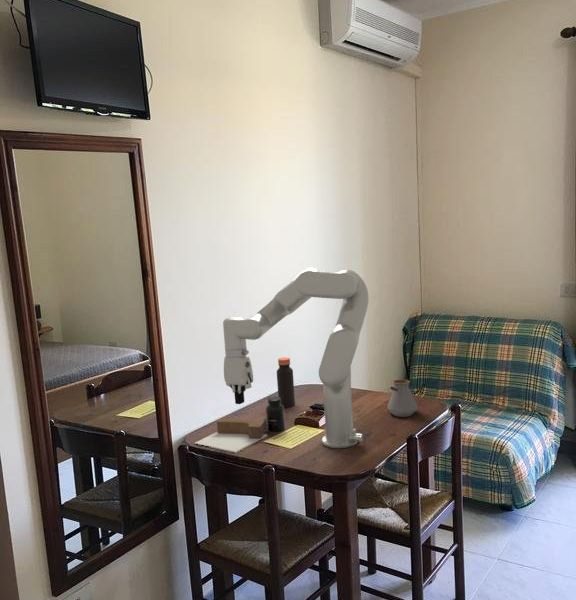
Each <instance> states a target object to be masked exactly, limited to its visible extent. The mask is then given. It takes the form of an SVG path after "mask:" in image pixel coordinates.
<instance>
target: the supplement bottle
mask: <svg viewBox="0 0 576 600" xmlns="http://www.w3.org/2000/svg"><path fill="white" fill-rule="evenodd" d="M265 419H266V424H267V430H266V431H268V432H272V433H279V432H282V431H284V430H285V429H286V424H285V423H286V422H285V407H284V406H283V405H282V404H281V398H280V397H278V396H271V397H268V398H267V405H266V407H265Z"/></svg>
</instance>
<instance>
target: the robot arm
mask: <svg viewBox="0 0 576 600" xmlns="http://www.w3.org/2000/svg"><path fill="white" fill-rule="evenodd" d="M312 298H320V299H335V300H336V299H337V300H343V301H342V305H341V308H340V309H339V314H338V318H337V320H336V323H335V326H334V327H333V330H332V331H331V333H330V334H329V336H328V339H327V343H326V345H325V349H324V351H323V354H322V359H321V361H320V364H319V368H318V377H319V380H320V382H321V383H322V385H323V386H322V387H323V407H324V409H323V410H324V422H325V423H324V425H325V426H324V427H325V435H324V436H323V437H322V438H321V444H323V445H324V446H325V447H327V448H332V449H345V448H351V447H353V446H356V444H358V443H362V442H363V440H364V436H363V434H362V433H357V429H356V428H354V425H353V424H354V423H353V422H354V421H353V419H354V418H353V402H352V396H353V395H352V362H353V360H354V357H355V355H356V354H355V353H356V351H357V349H358V348H357V347H358V345H359V341H360V335H361V330H362V328H363V325H364V321H365V317H366V314H367V312H368V311H367V310H368V307H369V291H368V286H367V285H366V283H365V281H364V279H363V278H362V277H361V276H360V275H359V274H358V273H357V272H356V271H354V270H351V269H343V270H340V271H339V272H327V271H320V270H319V269H317V268H313V267H309V268H306V269H305V270H302V271H301V272H300V273H299V274H298V275H297V276H296V277H295V278H293V279H292V280H291V281H290V282H289V283H288V284H287V285H285V286H284V287H282V288H281V289H280V290H279V291H278V292H277V293H276V294H275V295H274V297H273V298H272V299H271V301H269V302H268V303H267V304H266V305H264V307H262V308H261V309H260V310H259V311H258V312H256V313H255V314H253V315H252V316H250V317H249V318H246V319H244V318H243V317H240V316H237V317H236V316H232V317H226V318H225V319H224V320H223V322H222V325H223V326H222V327H223V339H224V351H225V352H224V353H225V356H224V359H223V378H224V382H225V385H226V386H227V387H229V388H231V390H232V393H234V402H235V404H236V405H241V404H244V403H245V392H246V390H249V389H251V388H253V387H252V383H254V374H253V373H254V371H253V366H252V363H251V358H250V356H249V352H250V351H249V350H247V349H248V348H247V340H250V341H251V340H252V341H255V340H259V339H261V338H262V337H263V336H264V335H265V334H266V333H267V332H268V331H270V330H271V329H272V328H273V327H274V326H276V325H277V324H278V323H280V322H281V321H282V320H283V319H284V318H286V317H287V316H289V315H291V314H293V313H294V312H295V311H297V310H298V309H299V308H300V307H301V306H302V305H304V304H305V303H306V302H307V301H309V300H310V299H312ZM323 445H322V446H323Z"/></svg>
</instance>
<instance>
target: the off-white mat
mask: <svg viewBox="0 0 576 600" xmlns="http://www.w3.org/2000/svg"><path fill="white" fill-rule="evenodd" d="M266 437H268V434H267V433H264V435H263V436H262V437H261V438H260V439H253V438H249V435H248V434H232V433H218V431H216V432H214V433H212V434H209V435H208V436H206V437H204V438H202V439H200V440H198V441H195V442H194V445H196V444H198V445H197V446H201V445H204V446H203V447H205V446H209V447H208V448H210V447H211V448H210V449H214V450H215V449H216V450H220V451H224V452H229V453H233V452H234V453H233V454H237V453H239V452H241V451H243V450H244V449H246V448H249V446H251V445H253V444H255V443H256V442H259V441H260V440H262V439H264V438H266ZM240 450H241V451H240Z"/></svg>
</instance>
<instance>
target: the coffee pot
mask: <svg viewBox="0 0 576 600" xmlns="http://www.w3.org/2000/svg"><path fill="white" fill-rule="evenodd" d="M410 382H411V381H410V380H408V379H403V378H402V379H395V380H392V384H393V385H394V386H390V387H388V388H387V392H389V393H391V395H390V399H389V401H388V404H387V410H388V411H389V412H390V413H391V414H392V415H393V416H395V417H398V418H399V417H401V418H406V417H410V416H412V415H413V414H414V413H416V411H417V409H418V405H417V402H416V401H415V398H414V396H413V394H412V392H411V389H410V387H409V385H410ZM389 389H390V390H392V391H389Z"/></svg>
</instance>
